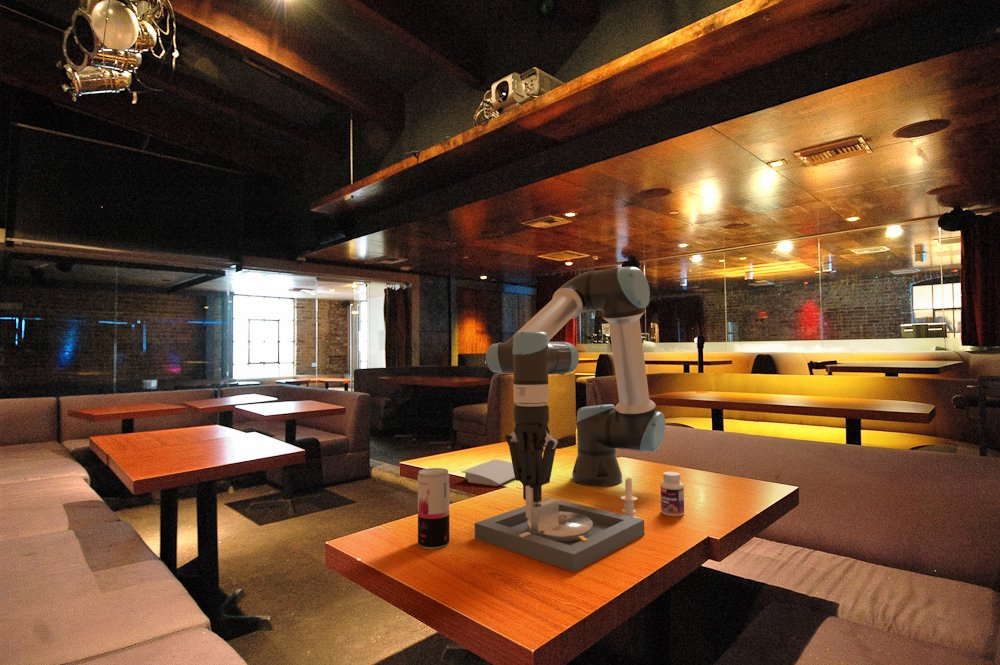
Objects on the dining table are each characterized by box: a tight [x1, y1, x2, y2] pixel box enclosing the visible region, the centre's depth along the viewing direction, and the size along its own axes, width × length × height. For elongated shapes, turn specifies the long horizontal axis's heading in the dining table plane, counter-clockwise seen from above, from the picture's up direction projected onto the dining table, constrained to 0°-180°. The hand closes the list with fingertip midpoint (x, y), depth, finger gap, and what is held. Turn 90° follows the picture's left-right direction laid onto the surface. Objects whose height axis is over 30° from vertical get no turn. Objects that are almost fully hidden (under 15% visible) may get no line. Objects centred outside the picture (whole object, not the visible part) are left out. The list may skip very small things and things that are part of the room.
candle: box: [620, 476, 641, 519], centre depth 121 cm, size 5×5×10 cm
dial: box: [527, 498, 593, 543], centre depth 110 cm, size 16×14×7 cm
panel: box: [474, 497, 645, 573], centre depth 111 cm, size 26×26×4 cm
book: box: [460, 458, 515, 487], centre depth 164 cm, size 15×23×4 cm, turn 151°
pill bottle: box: [660, 471, 685, 517], centre depth 126 cm, size 5×5×10 cm
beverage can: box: [417, 467, 451, 550], centre depth 108 cm, size 7×6×15 cm
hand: (532, 516), depth 108 cm, fingers closed
